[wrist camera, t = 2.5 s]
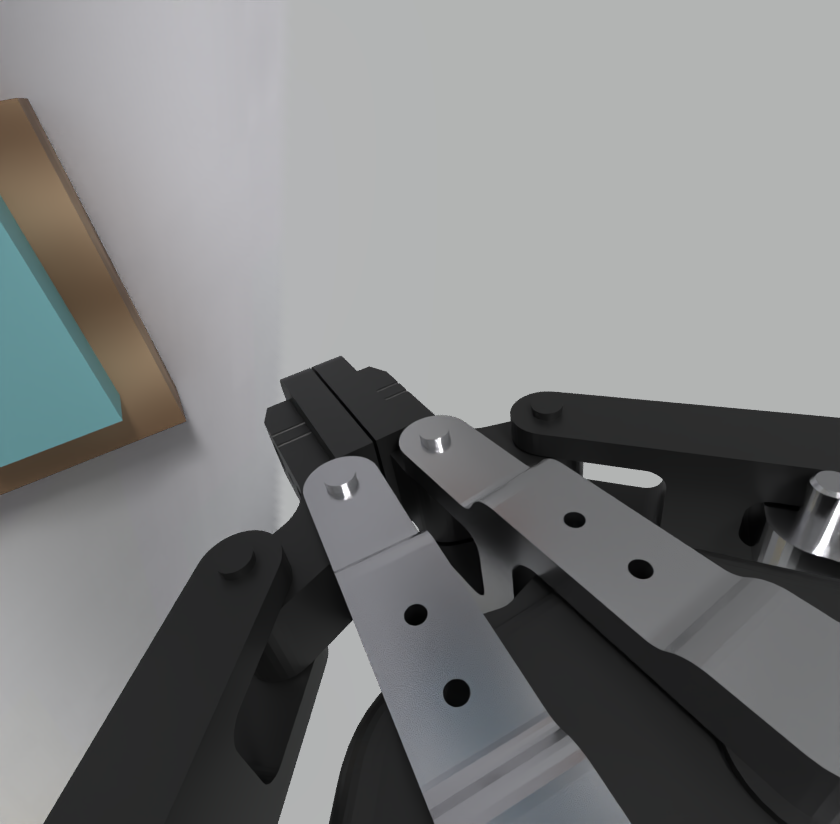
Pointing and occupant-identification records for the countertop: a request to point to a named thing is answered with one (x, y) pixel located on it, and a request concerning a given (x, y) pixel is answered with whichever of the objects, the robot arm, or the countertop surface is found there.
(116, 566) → the countertop surface
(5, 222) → the teal foam pad
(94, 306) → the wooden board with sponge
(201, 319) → the countertop surface
